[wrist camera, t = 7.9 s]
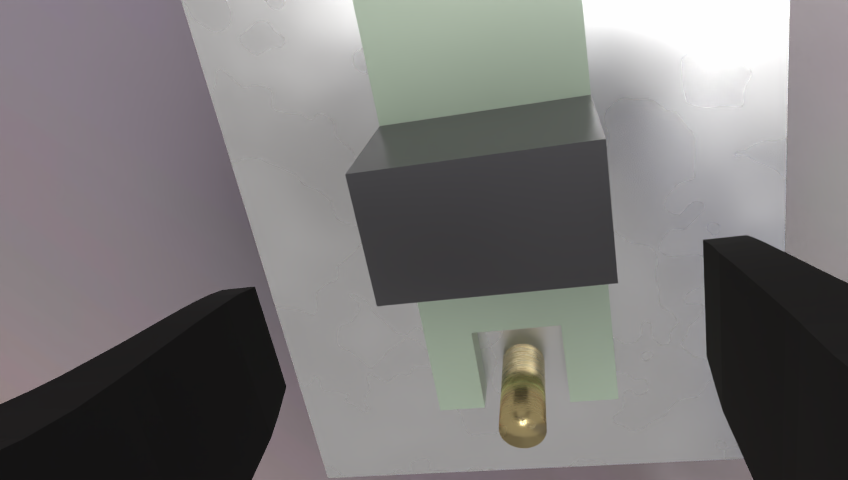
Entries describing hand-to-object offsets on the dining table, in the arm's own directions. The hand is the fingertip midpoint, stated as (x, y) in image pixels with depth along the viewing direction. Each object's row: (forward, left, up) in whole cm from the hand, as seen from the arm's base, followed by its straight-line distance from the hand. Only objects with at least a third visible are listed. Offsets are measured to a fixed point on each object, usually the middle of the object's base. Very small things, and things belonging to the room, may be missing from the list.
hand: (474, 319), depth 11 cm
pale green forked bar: (0, 0, -8) cm, 8 cm away
